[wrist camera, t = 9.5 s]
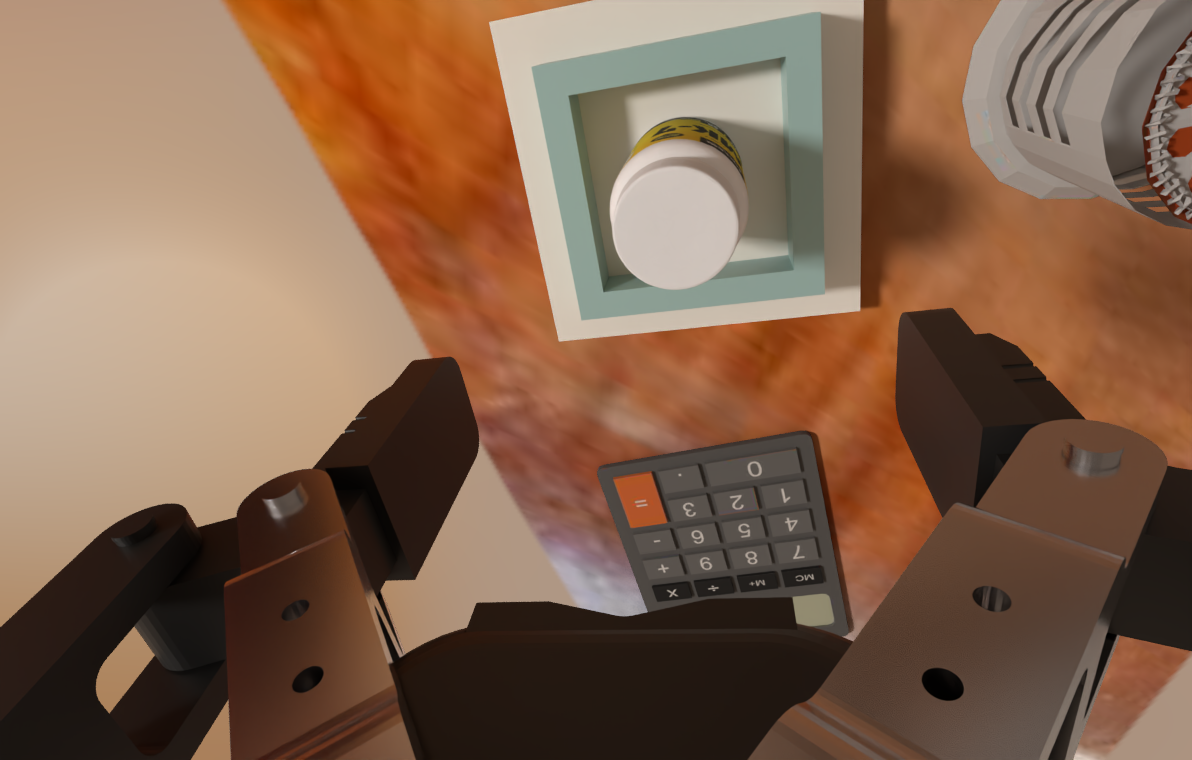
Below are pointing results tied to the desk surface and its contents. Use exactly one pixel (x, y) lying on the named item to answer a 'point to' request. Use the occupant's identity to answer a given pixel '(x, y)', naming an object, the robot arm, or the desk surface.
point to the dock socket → (703, 90)
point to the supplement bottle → (679, 204)
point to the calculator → (729, 526)
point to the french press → (1087, 101)
